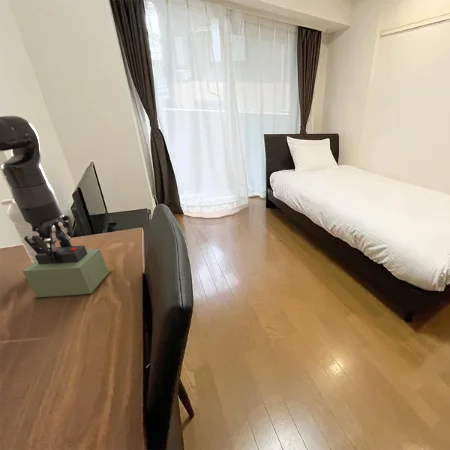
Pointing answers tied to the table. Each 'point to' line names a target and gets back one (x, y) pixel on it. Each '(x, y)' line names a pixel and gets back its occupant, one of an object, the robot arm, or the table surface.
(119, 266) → the table surface
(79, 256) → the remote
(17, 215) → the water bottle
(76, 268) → the stand
